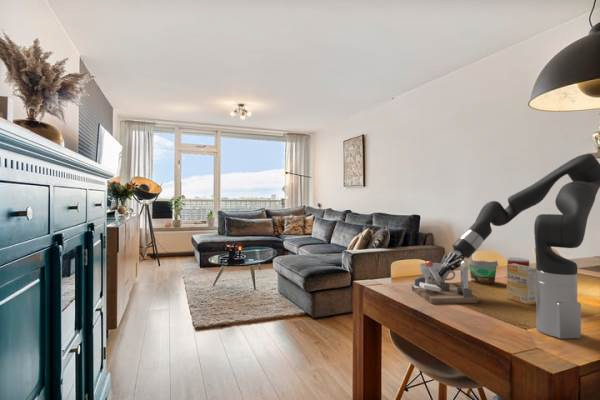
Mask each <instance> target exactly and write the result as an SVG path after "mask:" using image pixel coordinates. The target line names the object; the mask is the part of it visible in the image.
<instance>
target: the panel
mask: <svg viewBox="0 0 600 400" xmlns="http://www.w3.org/2000/svg"><path fill="white" fill-rule="evenodd" d="M443 282H444V283H441V287H440V286H439V285H438V283H437V284H432V285H436V286H438V287H440V288H441V290H440V292H438V291H433V290H428V289H424V288H422V287H421V286H417V285H415V283H409V285H410V286H411V290H412V291H413V292H414V291H415V292H414V293H416V294H417V295H419V297H421V298H423V299H424V300H426V302H428V303H430V304H431V305H436V304H437V305H440V304H441V305H442V304H446V305H447V304H478V300H479V299H478V297H477V296H475V295H474V294H472V289H468V290H463V294H461V286H456V285H454V284H453V283H448V282H447V283H446V282H445V281H443Z"/></svg>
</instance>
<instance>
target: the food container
mask: <svg viewBox="0 0 600 400" xmlns="http://www.w3.org/2000/svg"><path fill="white" fill-rule="evenodd" d="M467 263H468V266H469V274H470V281H471V282H472V283H475V284H479V285H494V284H495V281H496V273H497V267H499V263H498V260H497V259H496V260H494V261H487V260H472V259H469V258H468V261H467Z"/></svg>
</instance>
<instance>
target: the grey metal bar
mask: <svg viewBox="0 0 600 400" xmlns="http://www.w3.org/2000/svg"><path fill="white" fill-rule="evenodd" d="M460 287H461V294H463V290H469V264H468V261H464V260H463V261H462V262H461V263H460Z"/></svg>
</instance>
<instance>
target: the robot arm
mask: <svg viewBox="0 0 600 400" xmlns="http://www.w3.org/2000/svg"><path fill="white" fill-rule="evenodd" d="M567 175H568V177H569V179H570V180H571V181H570V182H566V184H564V185H562V187H561V188H560V189H559V191H558V193H557V195H556V197H555V203H554V204H555V206H556V209H557V210H558V211H559V212H560V213H561V214H560V213H559V214H554V213H553V214H551V213H547V214H546V213H545V214H544V213H541V214H538V215H537V216H536V218H535V220H534V226H533V227H534V229H533V230H534V231H533V233H534V243H535V247H534V248H535V264H536V266H535V268H536V304H535V305H536V306H535V307H536V309H535V311H536V314H535V315H536V316H535V317H536V330H537V331H538V332H539V333H542V334H545V335H547V336H550V337H555V338H556V339H557V338H558V339H561V340H562V339H565V340H566V339H581V338H582V333H581V332H582V326H581V325H582V322H581V321H582V319H581V318H582V315H581V313H582V310H581V309H582V307H581V306H582V304H581V303H580V302H579V301H578V265H577V263H576V262H575V261H573V260H570V259H568V258H565V257H563V256H561V255H559V254H557V253H556V252H555V251H554V250H553V249H552V248H560V249H561V248H563V249H564V248H565V249H575V248H578V247H580V246H581V245H582V243H583V242H584V238H585V235H586V229H587V228H586V227H587V223H588V218H589V215H590V212H591V211H592V208H593V206H594V204H595V200H596V196H597V194H598V192H599V189H600V162H599V160H598V159H597V158H596V156H594V155H593V154H592V153H584V154H581V155H578V156H576V157H574V158H571V159H570V160H568V161H566V162H565V163H563V164H562V165H560V166H559V167H557V168H555V169H554V170H553V171H551V172H549V173H548V174H547V175H545V176H543V177H542V178H541V179H539V180H537V181H536V182H534V183H533V184H531V185H529V186H528V187H526V188H524V189H521V190H520V191H517V192H516V193H515V194H512V195H510V196H509V197H507V202H508V206H507V207H505V208H504V207H503V205H502V204H501V203H500V202H499V201H496V200H492V201H489V202H487V203H485V204H484V205H483V206H482V207H481V209H480V211H479V213H478V215H477V217H476V220H475V221H474V223H472V225H471V226H470V227H469V228H468V229H467V230H466V231H465V232H464V233H462V235H460V237H459V238H458V239H456V241H454V243H453V244H452V248H453V250H451V251H450V252H449V253H448V254H447V253H444V254H443V256H442V259H441V261H440V263H441V265H442V267H441V268H440V269H439V270H438V271H437V272H438V274H439V276H440V277H442V276H443V275H444V274H445V273H446V272H447V271H450V270H451V271H454V270H456V269H458V268H461V266H460V263H461V262H462V261H464V259H465V258H466V259H469V258H471V257H472V255H473V254H475V252H476V251H477V250H478V249H479V248H480V247H481V246H482V245H483V242H484V241H485V240H486V239H487V238H488V237H489V236H490V235H491V234H492V231H493V230H492V226H491V224H492V225H493V226H495V227H502V226H505V225H507V224H508V223H510V222H511V221H512V220H513V219H514V218H516V217H517V216H518V215H519V214H520V213H522V212H523V211H525V210H528V209H530V208H532V207H535V206H536V205H539V204H540V203H541V202H543V200H544V199H545V198H546V196H547V195H548V194H549V192H550V190H551V189H552V188H553V186H554V185H555V183H557V182H558V181H559V180H560V179H561V178H563V177H564V176H567Z"/></svg>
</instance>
